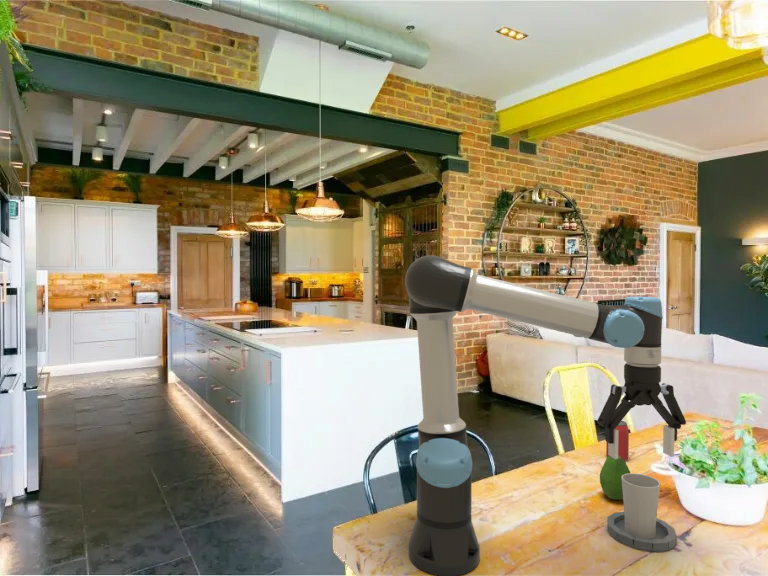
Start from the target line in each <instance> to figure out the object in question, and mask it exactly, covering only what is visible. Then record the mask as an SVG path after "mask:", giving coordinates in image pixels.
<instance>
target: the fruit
mask: <svg viewBox="0 0 768 576" xmlns="http://www.w3.org/2000/svg"><path fill="white" fill-rule="evenodd" d="M628 473H631V471H630V468H629V466H628V465H627V463H626V461H624V459H623V458H621V457H620V456H619V455H618V459H614V458H612V457H611V456H608V457H607V456H606V459H605V461H604V463H603V465H602V467H601V469H600V473H599V483H600V487H601V489H602V491H603V493H604V495H606V496H607V497H608V498H609V499H611V500H614V501H618V500H623V490H622V479H621V477H622V475H624V474H628Z"/></svg>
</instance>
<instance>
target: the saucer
mask: <svg viewBox="0 0 768 576" xmlns="http://www.w3.org/2000/svg"><path fill="white" fill-rule="evenodd" d="M606 524H607V525H606V529H607V533H608V534H609V535H610V536H611V537H612V538H613V539H614V540H615V541H617V543H620V544H622V545H624V546H627V547H630V548H631V549H635V550H639V551H643V552H649V553H664V552H668V551H671V550H673V549H674V548H675V547H676V544H677V542H678V541H677V539H678V538H677V533H676V530H675V528H674V527H673V526H671V525H670V524H668V523H667V522H666V521H665V520H663V519H660V518H658V517H657V519H656V536H655V537H654V538H652V539H644V538H639V537H635V536H632V535H630V534H629V533H627V532H626V530H625V517H624V511H615V512H613V513H612V514H610V515H608V516H607V517H606Z"/></svg>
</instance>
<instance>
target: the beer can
mask: <svg viewBox="0 0 768 576" xmlns="http://www.w3.org/2000/svg"><path fill="white" fill-rule="evenodd" d="M615 429H617V430H618V455H619V456H620V457H621V458H623V459H624V461H625V462H627V461H628V460H629V453H630V452H629V450H630V449H629V447H630V445H629V443H630V442H629V441H630V439H629V436H630V434H629V433H630V431H629V426H628V423H627V422H626V421H624V420H622V421H621V422H620V423H619V424H618V426H617V427H616V428H615ZM605 442H606V441H605ZM605 447H606V448H605V449H606V451H605V452H606V453H605V456H606V458H607V457H608V456H609V455H608V442H606V445H605Z"/></svg>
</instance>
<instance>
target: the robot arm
mask: <svg viewBox="0 0 768 576" xmlns="http://www.w3.org/2000/svg"><path fill="white" fill-rule="evenodd" d="M404 284H405V289H406V292H407V294H408V303H409V314H410V315H409V316H411V317H412V318H413V319H415V321H416V327H417V329H416V331H417V343H418V356H419V371H420V386H421V401H422V415H423V416H422V417H423V418H422V419H421V421H419V423H418V425H417V436H418V437H417V438H418V449H417V453H416V459H415V467H416V521H415V522H414V526H413V529H412V532H411V536H410V539H409V542H408V557H409V560H410V561H411V562H412V564H413V565H414V566H415V567H416V568H418V569H419V570H421V571H423V572H425V573H428V574H431V575H435V576H461V575H464V574H468V573H470V572H472V571H473V570H475V569H476V567H478V565H479V563H480V560H481V556H480V555H481V548H480V544H479V541H478V537H477V534H476V531H475V528H474V524H473V520H472V471H473V460H472V453H471V451H470V449H469V448H468V437H467V435H468V434H467V424H466V422H465V421H464V420H463V419H462V418H460V413H459V411H460V410H459V397H458V396H459V395H458V383H457V368H456V366H457V365H456V353H455V351H456V350H455V335H454V323H453V321H454V320H453V319H454V317H455V316H456V315H457V313H459V312H460V313H463V312H465V311H467V310H471V311H475V312H479V313H484V314H487V315H491V316H496V317H499V318H503V319H507V320H511V321H516V322H520V323H524V324H528V325H532V326H536V327H539V328H544V329H549V330H553V331H556V332H560V333H565V334H569V335H572V336H573V337H574V338H575V337H576V338H584V339H588V340H592V341H597V342H600V343H605V344H607V345H610V346H612V347H614V348H619V349H623V350H624V351H623V361H624V362H626V363H625V364H624V365H623V379H624V385H623V386H622V385H617V384H614V383H613V384H611V386H610V393H609V396H608V398H607V399H606V402H605V403H604V406H603V408H602V410H601V412H600V415H599V416H598V418H597V421H596V424H597V425H599V426H601V427H603V428H604V430H605V434H604V435H605V442H608V455H609V456H611V457H612V458H614V459H618V430H617V429H615V428H616V427H617V426H618V424H619V423H620V422H621V421H623V419H624V418H625V417H626V415H627V414H628V413H629V412H630V411H631V410H632V408H635V406H644V405H645V406H652V407H653V408H654V409H655V411H656V412H657V413H658V415H660V416H661V418H662V419H663V420H664V422H665V423H666V424H664V425H663V430H662V431H663V433H662V434H663V436H662V437H663V438H662V441H663V443H662V453H663V454H665V455H667V456H669V457H671V458H675V442H677V440H678V430H681V429H682V426H685V425H686V424H687V420H686V419H685V416H684V415H683V412H682V410H681V407H680V406H679V403H678V401H677V399H676V397H675V392H674V391H675V390H674V386H673V385H671V384H668V383H666V382H663V383H661V381H662V367H661V365H660V364H661V363H662V332H663V326H662V325H663V319H664V317H663V306H662V301H661V299H660V298H658V297H656V296H627V297H626V298H625V299H624V303H623V304H621V305H619V304H618V305H611V304H610V305H607V304H606V305H605V304H599V303H596V302H593V301H589V300H584V299H580V298H576V297H571V296H568V295H563V294H559V293H556V292H553V291H552V292H551V291H547V290H543V289H540V288H534V287H531V286H526V285H522V284H518V283H514V282H509V281H506V280H502V279H497V278H494V277H489V276H484V275H482V274H477V273H476V270H475V269H474V268H473V267H467V266H466V265H465V266H464V265H461V264H459V263H458V264H457V263H455V262H452V261H450V260H448V259H446V258H443V257H442V256H438V255H433V254H432V255H431V254H430V255H429V254H428V255H423V256H421V257H419V258H417V259H416V260H414V261H413V262H412V263H411V264H410V265H409V266H408V269H407V271H406V273H405V277H404ZM660 383H661V385H660ZM660 393H661V394H662V396H663V399H664V401H665V403H666V405H667V408H668V409H667V408H666V407H665V405H664V404H663V401H662V400H661V398H660V397H659V395H660ZM624 394H625V395H624ZM623 395H624V396H623ZM621 398H622V399H621Z"/></svg>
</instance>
